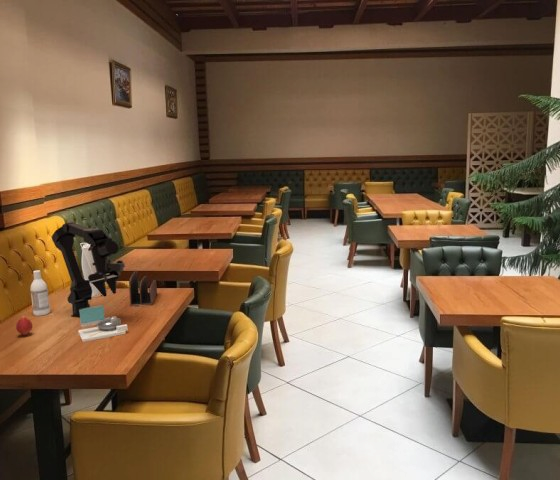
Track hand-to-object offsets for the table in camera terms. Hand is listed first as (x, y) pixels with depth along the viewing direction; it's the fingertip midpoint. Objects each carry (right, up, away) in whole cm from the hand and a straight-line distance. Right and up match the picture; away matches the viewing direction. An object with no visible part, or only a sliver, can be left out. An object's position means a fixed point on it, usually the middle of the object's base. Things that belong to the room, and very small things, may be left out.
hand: (110, 294), depth 214 cm
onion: (-31, -15, -8) cm, 36 cm away
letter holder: (+5, -7, +36) cm, 37 cm away
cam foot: (-1, -12, -8) cm, 15 cm away
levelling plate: (0, -14, -9) cm, 17 cm away
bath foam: (-38, -11, +20) cm, 44 cm away
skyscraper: (-24, -6, +48) cm, 54 cm away
